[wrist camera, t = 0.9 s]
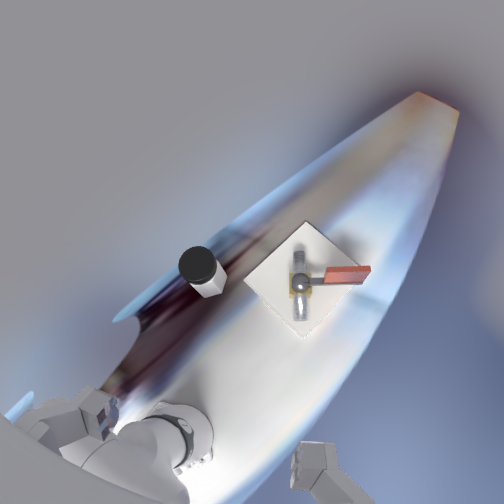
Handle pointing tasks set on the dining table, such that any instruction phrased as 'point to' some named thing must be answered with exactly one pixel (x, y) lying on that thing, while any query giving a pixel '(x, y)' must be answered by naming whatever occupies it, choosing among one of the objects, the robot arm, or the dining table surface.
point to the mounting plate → (317, 259)
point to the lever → (332, 277)
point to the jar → (202, 271)
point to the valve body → (298, 297)
